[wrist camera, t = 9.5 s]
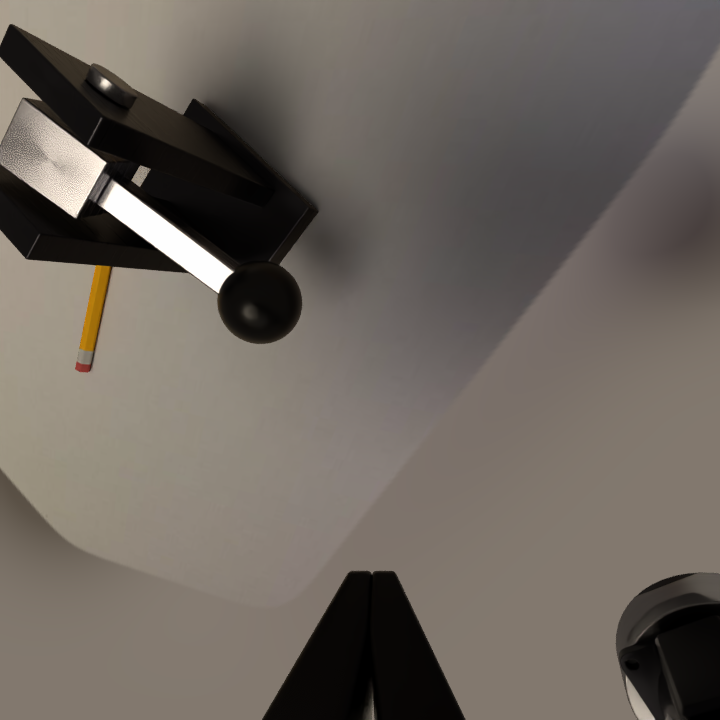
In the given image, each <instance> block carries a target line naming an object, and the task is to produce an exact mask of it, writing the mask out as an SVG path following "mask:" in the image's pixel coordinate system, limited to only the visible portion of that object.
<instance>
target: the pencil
mask: <svg viewBox="0 0 720 720" xmlns="http://www.w3.org/2000/svg"><path fill="white" fill-rule="evenodd" d="M110 271H111V266H99V265H96V267H95V272H94V277H93V282H92V287H91V292H90V297H89V302H88V307H87V312H86V317H85V322H84V327H83V332H82V337H81V342H80V347H79V352H78V357H77V362H76V367H75V369H76V370H77V371H79V372H89V371H90V368H91V363H92V358H93V354H94V349H95V344H96V339H97V334H98V329H99V324H100V320H101V315H102V310H103V305H104V300H105V295H106V291H107V286H108V281H109V276H110Z"/></svg>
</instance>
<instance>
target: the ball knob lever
mask: <svg viewBox="0 0 720 720" xmlns="http://www.w3.org/2000/svg"><path fill="white" fill-rule="evenodd" d="M0 165H1V166H2V167H4V168H5V169H6V170H8V171H9V172H11V173H12V174H13V175H15V176H16V177H18V178H19V179H20V180H22V181H23V182H24V183H26V184H27V185H29V186H30V187H31V188H33V189H34V190H35V191H37V192H38V193H40V194H41V195H42V196H44V197H45V198H47V199H48V200H49V201H51V202H52V203H53V204H55V205H56V206H58V207H59V208H60V209H62V210H63V211H64V212H66V213H67V214H69V215H70V216H71V217H73V218H74V219H80V218H85V217H90V216H95V215H100V214H105V213H109V214H110V215H112V216H113V217H114V218H116V219H117V220H118V221H120V222H121V223H122V224H124V225H125V226H127V227H128V228H129V229H131V230H132V231H133V232H135V233H136V234H137V235H139V236H140V237H141V238H143V239H144V240H145V241H147V242H148V243H149V244H151V245H152V246H154V247H155V248H156V249H158V250H159V251H160V252H162V253H163V254H164V255H166V256H167V257H168V258H170V259H171V260H172V261H174V262H175V263H177V264H178V265H179V266H181V267H182V268H183V269H185V270H186V271H187V272H189V273H190V274H191V275H193V276H194V277H195V278H197V279H198V280H200V281H201V282H202V283H204V284H205V285H206V286H208V287H209V288H210V289H212V290H213V291H214V292H216V293H217V294H218V298H217V302H218V310H219V314H220V317H221V319H222V321H223V323H224V324H225V326H226V327H227V328H228V329H229V331H230V332H231V333H233V334H234V335H235V336H237V337H238V338H240V339H242V340H244V341H247V342H250V343H255V344H266V343H272V342H275V341H277V340H280V339H281V338H283V337H285V336H286V335H287V334H289V333H290V332H291V331H292V329H293V328H294V327H295V325H296V324H297V322H298V320H299V318H300V315H301V310H302V296H301V292H300V289H299V286H298V284H297V282H296V280H295V279H294V278H293V276H292V275H291V274H290V273H289V272H288V271H287V270H286V269H284V268H283V267H281V266H279V265H277V264H275V263H272V262H269V261H262V260H256V261H249V262H245V263H243V264H239V263H238V262H237V261H235V260H234V259H233V258H231V257H230V256H229V255H228V254H226V253H225V252H224V251H222V250H221V249H220V248H218V247H217V246H216V245H214V244H213V243H212V242H211V241H209V240H208V239H207V238H205V237H204V236H203V235H201V234H200V233H199V232H198V231H196V230H195V229H194V228H192V227H191V226H190V225H188V224H187V223H186V222H184V221H183V220H182V219H181V218H179V217H178V216H177V215H175V214H174V213H173V212H171V211H170V210H169V209H167V208H166V207H165V206H164V205H162V204H161V203H160V202H158V201H157V200H156V199H154V198H153V197H152V196H151V195H149V194H148V193H147V192H145V191H144V190H143V189H141V188H140V187H139V186H137V185H136V184H135V183H134V182H132V181H131V180H132V178H133V176H134V175H135V173H136V171H137V170H138V168H139V166H140V165H139V164H136V163H133V162H130V161H127V160H124V159H121V158H119V157H116V156H113V155H110V154H107V153H104V152H101V151H99V150H96V149H93V148H90V147H87V146H86V145H85V144H84V143H83V142H82V141H81V140H80V139H79V138H78V137H77V135H76V134H75V133H74V132H73V131H72V130H71V129H70V128H69V127H68V126H67V125H66V124H65V123H64V122H63V121H62V120H61V119H60V118H59V117H58V116H57V115H56V114H55V113H54V112H53V111H52V110H51V109H50V108H49V107H48V106H47V105H46V104H45V103H44V102H43V101H40V100H34V99H29V98H22V100H21V102H20V104H19V106H18V108H17V111H16V113H15V115H14V117H13V119H12V121H11V123H10V125H9V127H8V130H7V132H6V134H5V136H4V138H3V140H2V142H1V144H0Z"/></svg>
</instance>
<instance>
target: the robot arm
mask: <svg viewBox="0 0 720 720" xmlns="http://www.w3.org/2000/svg"><path fill="white" fill-rule="evenodd" d="M618 658H619V662H620V665H621V668H622V669H623V671H624V672H625V674H626V676H627V677H628V679H629V680H630V682H631V683H632V685H633V686H634V688H635V689H636V691H637V692H638V694H639V695H640V697H641V698H642V700H643V701H644V703H645V704H646V706H647V708H648V709H649V711H650V712H651V714H652V715H653V717H654V718H655V720H720V615H718V616H717V615H713V616H710V617H707V618H704V619H701V620H698V621H695V622H692V623H689V624H687V625H684V626H681V627H678V628H675V629H672V630H669V631H666V632H663V633H661V634H658V635H657V637H654V638H652V639H649V640H646V641H643V642H640V643H637V644H634V645H631V646H628V647H625V648H623V649H622V650H620V652H619V657H618ZM629 659H635V660H637V662H636V663H634V664H631V663H628V662H627V660H629ZM373 701H374V702H373ZM373 704H374V718H375V720H465V718H464V716H463V714H462V711H461V709H460V707H459V705H458V703H457V701H456V699H455V697H454V695H453V693H452V690H451V688H450V686H449V684H448V682H447V680H446V678H445V676H444V673H443V672H442V669H441V667H440V665H439V663H438V661H437V659H436V657H435V655H434V653H433V650H432V648H431V646H430V644H429V642H428V640H427V638H426V636H425V634H424V632H423V630H422V627H421V625H420V623H419V621H418V619H417V617H416V615H415V613H414V611H413V608H412V606H411V604H410V602H409V600H408V598H407V596H406V594H405V592H404V589H403V587H402V585H401V583H400V581H399V579H398V577H397V575H396V574H395V572H393V571H374V572H373V574H371V572H369V571H350V572H349V573H348V574H347V576H346V577H345V579H344V581H343V583H342V584H341V586H340V587H339V589H338V591H337V593H336V594H335V596H334V598H333V599H332V601H331V603H330V605H329V606H328V608H327V610H326V612H325V613H324V615H323V616H322V618H321V620H320V622H319V623H318V625H317V627H316V628H315V630H314V632H313V634H312V635H311V637H310V639H309V640H308V642H307V644H306V645H305V647H304V649H303V651H302V652H301V654H300V656H299V658H298V659H297V661H296V663H295V664H294V666H293V668H292V670H291V671H290V673H289V674H288V676H287V678H286V680H285V681H284V683H283V685H282V687H281V688H280V690H279V691H278V693H277V695H276V697H275V699H274V700H273V702H272V703H271V705H270V707H269V709H268V710H267V712H266V714H265V716H264V717H263V719H262V720H371V719H372V708H373Z"/></svg>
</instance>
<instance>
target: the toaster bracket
mask: <svg viewBox="0 0 720 720" xmlns="http://www.w3.org/2000/svg"><path fill="white" fill-rule="evenodd" d="M0 57H1V58H2V59H3V61H4V62H5V63H6V64H7V65H8V66H9V67H10V68H11V69H12V70H13V71H14V72H15V73H16V74H17V75H18V76H19V77H20V78H21V79H22V80H23V81H24V82H25V83H26V84H27V85H28V86H29V87H30V88H31V89H32V90H33V91H34V92H35V93H36V94H37V95H38V96H39V97H40V99H41V100H42V101H43V102H44V103H45V104H46V105H47V106H48V107H49V108H50V109H51V110H52V111H53V112H54V113H55V114H56V115H57V116H58V117H59V118H60V119H61V120H62V121H63V122H64V123H65V124H66V125H67V126H68V127H69V128H70V129H71V130H72V131H73V132H74V133H75V134H76V135H77V137H78V138H79V139H80V140H81V141H82V142H83V143H84V144H85V145H86V146H87V147H90V148H93V149H96V150H99V151H101V152H104V153H107V154H110V155H113V156H116V157H119V158H121V159H124V160H127V161H130V162H133V163H136V164H139V165H141V166H144V167H147V168H150V169H151V170H150V171H149V173H148V175H147V176H146V178H145V180H144V181H143V183H142V185H141V186H140V188H141V189H143V190H144V191H145V192H147V193H148V194H149V195H151V196H152V197H153V198H154V199H156V200H157V201H158V202H160V203H161V204H162V205H164V206H165V207H166V208H167V209H169V210H170V211H171V212H173V213H174V214H175V215H177V216H178V217H179V218H181V219H182V220H183V221H184V222H186V223H187V224H188V225H190V226H191V227H192V228H194V229H195V230H196V231H198V232H199V233H200V234H201V235H203V236H204V237H205V238H207V239H208V240H209V241H211V242H212V243H213V244H214V245H216V246H217V247H218V248H220V249H221V250H222V251H224V252H225V253H226V254H228V255H229V256H230V257H231V258H233V259H234V260H235V261H237V262H238V263H239V264H243V263H245V262H249V261H256V260H262V261H269V262H272V263H275V264H277V265H279V263H280V262H281V261H282V259H283V258H284V257H285V255H286V254H287V253H288V251H289V250H290V249H291V247H292V246H293V245H294V243H295V242H296V241H297V239H298V238H299V237H300V235H301V234H302V233H303V231H304V230H305V229H306V227H307V226H308V225H309V223H310V222H311V221H312V219H313V218H314V217H315V215H316V214H317V213H318V210H317V209H316V208H314V207H313V206H312V205H311V204H310V203H309V202H308V201H307V200H306V199H305V198H304V197H303V196H302V195H301V194H300V193H299V192H297V191H296V190H295V189H294V188H293V187H292V186H291V185H290V184H289V183H288V182H287V181H286V180H285V179H284V178H283V177H282V176H280V175H279V174H278V173H277V172H276V171H275V170H274V169H273V168H272V167H271V166H270V165H269V164H268V163H267V162H266V161H264V160H263V159H262V158H261V157H260V156H259V155H258V154H257V153H256V152H255V151H254V150H253V149H252V148H251V147H250V146H249V145H247V144H246V143H245V142H244V141H243V140H242V139H241V138H240V137H239V136H238V135H237V134H236V133H235V132H234V131H233V130H232V129H230V128H229V127H228V126H227V125H226V124H225V123H224V122H223V121H222V120H221V119H220V118H219V117H218V116H217V115H216V114H214V113H213V112H212V111H211V110H210V109H209V108H208V107H207V106H206V105H204V104H202V103H201V102H199V101H197V100H196V99H192V101H191V103H190V104H189V106H188V108H187V109H186V111H185V113H184V114H183V115H181V114H180V113H178V112H176V111H174V110H172V109H170V108H168V107H167V106H165V105H163V104H161V103H159V102H157V101H155V100H153V99H152V98H150V97H148V96H146V95H144V94H142V93H140V92H138V91H137V90H135V89H133V88H132V87H130V86H129V85H128V84H127V83H126V82H125V81H123V80H122V79H121V78H119V77H118V76H117V75H115V74H114V73H112V72H111V71H109V70H107V69H106V68H104V67H102V66H100V65H98V64H95V63H93V64H92V65H91V66H90V65H88V64H86V63H84V62H82V61H80V60H79V59H77V58H75V57H73V56H71V55H69V54H67V53H66V52H64V51H62V50H60V49H58V48H56V47H54V46H52V45H51V44H49V43H47V42H45V41H43V40H41V39H39V38H37V37H36V36H34V35H32V34H30V33H28V32H26V31H24V30H22V29H21V28H19V27H17V26H15V25H13V24H10V25H9V27H8V29H7V31H6V34H5V36H4V38H3V40H2V43H1V45H0ZM0 230H1V231H2V232H3V233H4V235H5V236H6V237H7V238H8V239H9V240H10V241H11V242H12V244H13V245H14V246H15V247H16V248H17V249H18V250H19V251H20V253H21V254H22V255H23V256H24V257H25V258H26V259H28V260H40V261H52V262H64V263H76V264H87V265H99V266H111V267H123V268H135V269H147V270H158V271H170V272H182V273H189V272H187V271H186V270H185V269H183V268H182V267H181V266H179V265H178V264H177V263H175V262H174V261H172V260H171V259H170V258H168V257H167V256H166V255H164V254H163V253H162V252H160V251H159V250H158V249H156V248H155V247H154V246H152V245H151V244H149V243H148V242H147V241H145V240H144V239H143V238H141V237H140V236H139V235H137V234H136V233H135V232H133V231H132V230H131V229H129V228H128V227H127V226H125V225H124V224H122V223H121V222H120V221H118V220H117V219H116V218H114V217H113V216H112V215H110V214H109V213H105V214H100V215H95V216H90V217H85V218H80V219H74V218H73V217H71V216H70V215H69V214H67V213H66V212H64V211H63V210H62V209H60V208H59V207H58V206H56V205H55V204H53V203H52V202H51V201H49V200H48V199H47V198H45V197H44V196H42V195H41V194H40V193H38V192H37V191H35V190H34V189H33V188H31V187H30V186H29V185H27V184H26V183H24V182H23V181H22V180H20V179H19V178H18V177H16V176H15V175H13V174H12V173H11V172H9V171H8V170H6V169H5V168H4V167H2V166H1V165H0Z"/></svg>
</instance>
